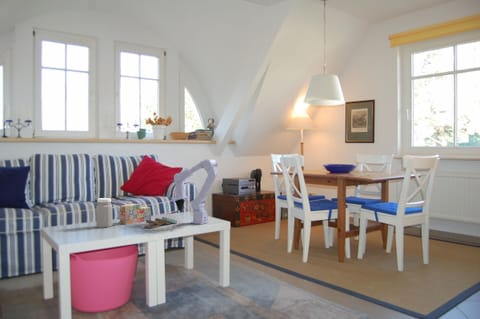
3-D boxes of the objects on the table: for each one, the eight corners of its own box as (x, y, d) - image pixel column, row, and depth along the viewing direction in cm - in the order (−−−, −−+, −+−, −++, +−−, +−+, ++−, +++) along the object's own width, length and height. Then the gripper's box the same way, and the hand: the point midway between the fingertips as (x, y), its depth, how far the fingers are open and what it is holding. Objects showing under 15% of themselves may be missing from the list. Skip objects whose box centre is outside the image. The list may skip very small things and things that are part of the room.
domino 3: (166, 220, 259) (155, 217, 253) (170, 221, 256) (160, 218, 249) (165, 223, 259) (154, 220, 252) (170, 224, 255) (159, 221, 249)
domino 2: (154, 224, 251) (144, 226, 244) (160, 224, 248) (149, 227, 241) (154, 226, 251) (144, 229, 244) (160, 227, 248) (149, 230, 241)
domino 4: (172, 219, 263) (162, 216, 256) (177, 220, 260) (167, 217, 253) (171, 222, 262) (161, 219, 256) (176, 223, 259) (166, 220, 253)
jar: (107, 228, 242) (107, 199, 241) (93, 228, 244) (92, 199, 243) (115, 225, 251) (115, 197, 251) (101, 225, 253) (101, 197, 253)
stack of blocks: (145, 219, 275) (145, 202, 275) (151, 220, 271) (151, 202, 271) (119, 223, 258) (119, 205, 258) (125, 225, 254) (125, 206, 254)
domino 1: (158, 221, 254) (146, 219, 248) (162, 222, 250) (150, 220, 244) (157, 224, 254) (145, 222, 248) (161, 225, 250) (149, 223, 244)
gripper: (182, 189, 275) (182, 208, 275) (168, 191, 263) (168, 211, 263) (189, 190, 271) (189, 209, 272) (176, 192, 259) (176, 212, 259)
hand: (179, 210), depth 267 cm, fingers closed
